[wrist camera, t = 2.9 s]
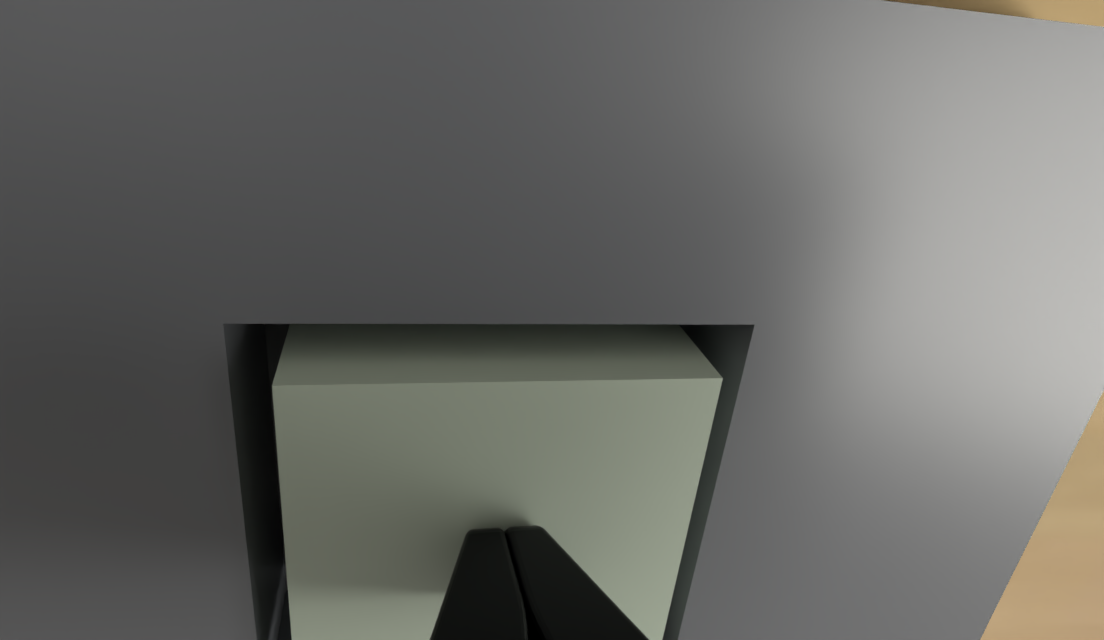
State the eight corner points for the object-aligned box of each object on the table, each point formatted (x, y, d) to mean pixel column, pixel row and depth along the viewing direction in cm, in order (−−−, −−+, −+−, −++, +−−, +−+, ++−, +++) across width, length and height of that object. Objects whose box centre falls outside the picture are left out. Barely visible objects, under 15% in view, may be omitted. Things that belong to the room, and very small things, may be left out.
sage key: (612, 561, 11) (655, 672, 9) (313, 585, 10) (297, 712, 8) (659, 301, 9) (723, 378, 7) (296, 297, 8) (272, 385, 6)
